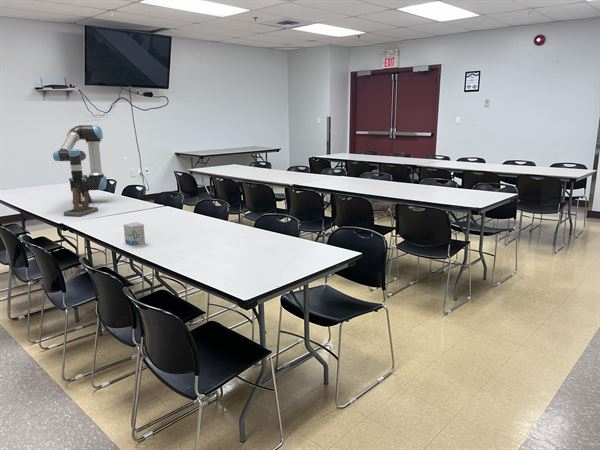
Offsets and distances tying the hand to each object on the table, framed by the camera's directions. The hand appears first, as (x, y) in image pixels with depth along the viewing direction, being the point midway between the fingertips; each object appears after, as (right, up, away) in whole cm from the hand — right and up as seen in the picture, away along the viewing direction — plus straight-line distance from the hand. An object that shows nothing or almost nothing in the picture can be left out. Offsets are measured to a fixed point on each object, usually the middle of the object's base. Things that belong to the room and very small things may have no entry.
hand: (80, 200), depth 349 cm
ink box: (+69, -29, -76) cm, 107 cm away
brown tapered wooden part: (0, -8, +2) cm, 8 cm away
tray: (0, -10, +2) cm, 10 cm away
